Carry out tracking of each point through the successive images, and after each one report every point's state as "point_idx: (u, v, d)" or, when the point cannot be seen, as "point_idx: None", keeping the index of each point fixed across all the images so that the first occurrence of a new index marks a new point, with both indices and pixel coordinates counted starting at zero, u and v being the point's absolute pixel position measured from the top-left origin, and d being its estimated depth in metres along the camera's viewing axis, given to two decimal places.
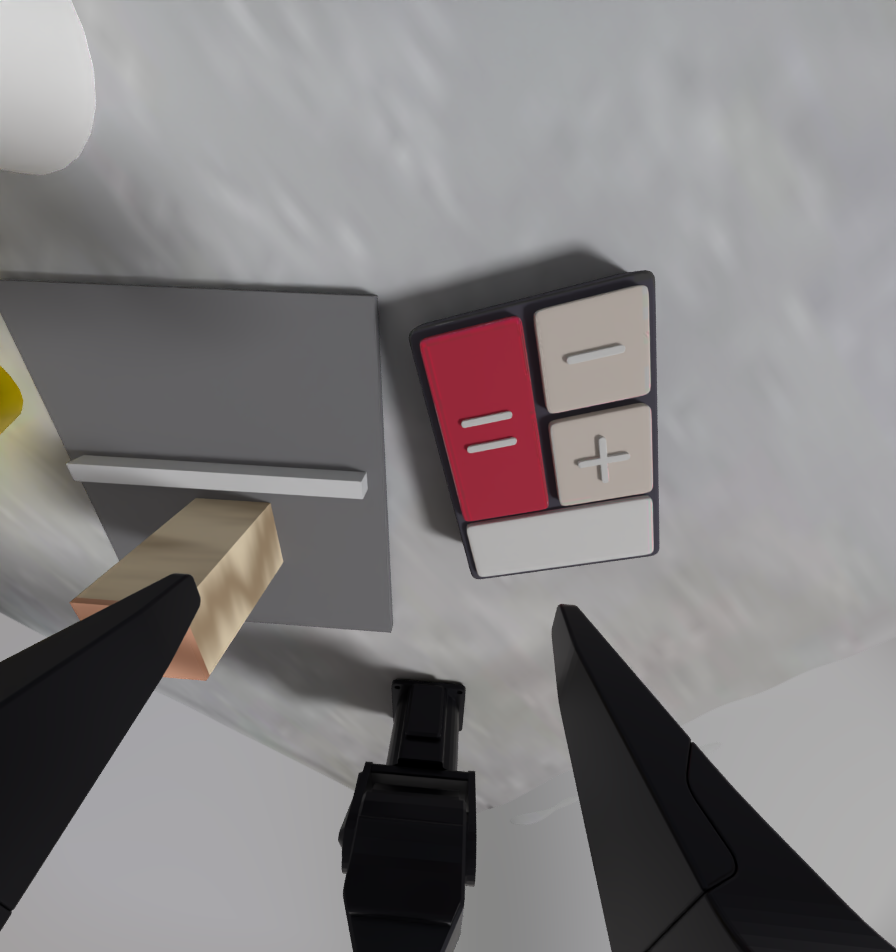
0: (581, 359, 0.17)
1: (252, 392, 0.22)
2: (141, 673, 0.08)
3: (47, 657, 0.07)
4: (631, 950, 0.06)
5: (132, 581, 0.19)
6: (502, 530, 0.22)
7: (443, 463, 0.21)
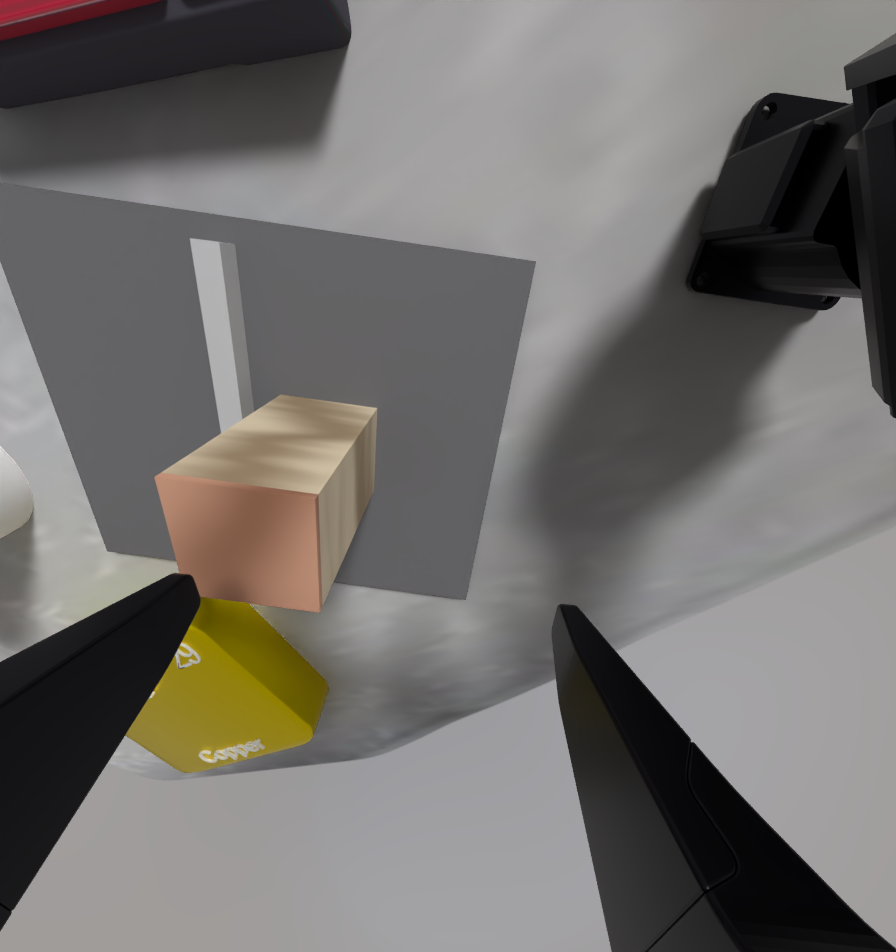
0: None
1: (136, 367, 0.20)
2: (141, 673, 0.08)
3: (47, 657, 0.07)
4: (631, 950, 0.06)
5: None
6: None
7: (80, 38, 0.12)
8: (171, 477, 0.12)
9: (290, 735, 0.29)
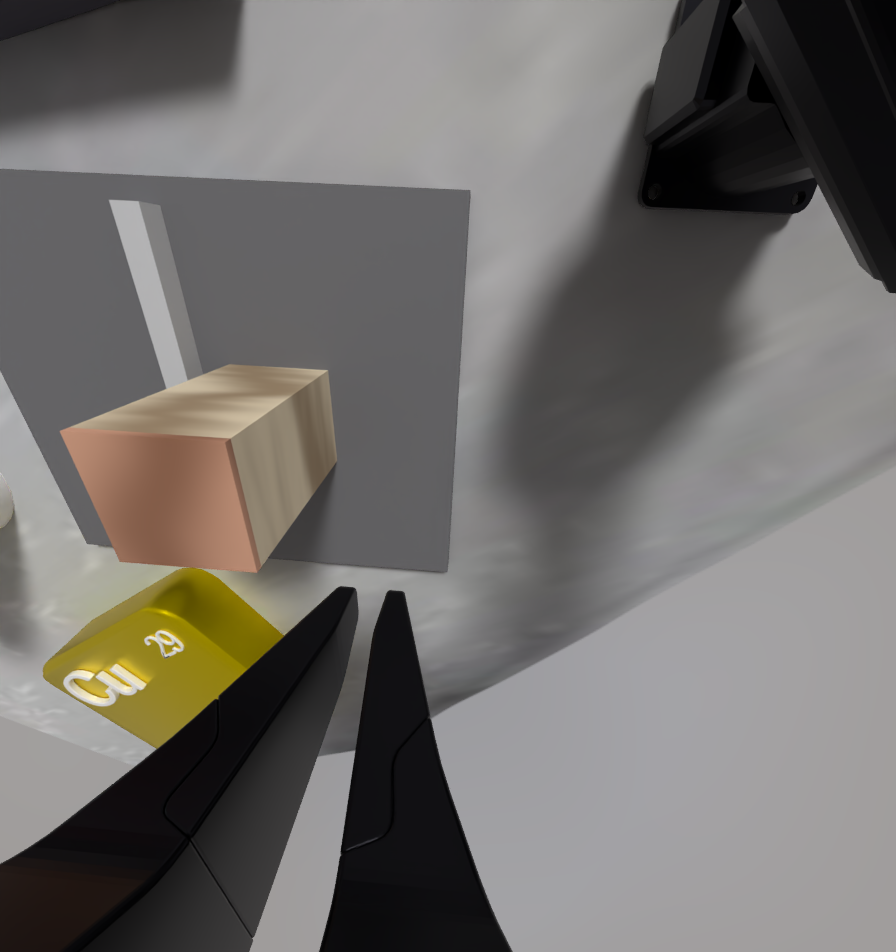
0: None
1: (84, 348, 0.19)
2: (330, 690, 0.08)
3: (277, 677, 0.07)
4: None
5: None
6: None
7: None
8: (78, 430, 0.12)
9: None
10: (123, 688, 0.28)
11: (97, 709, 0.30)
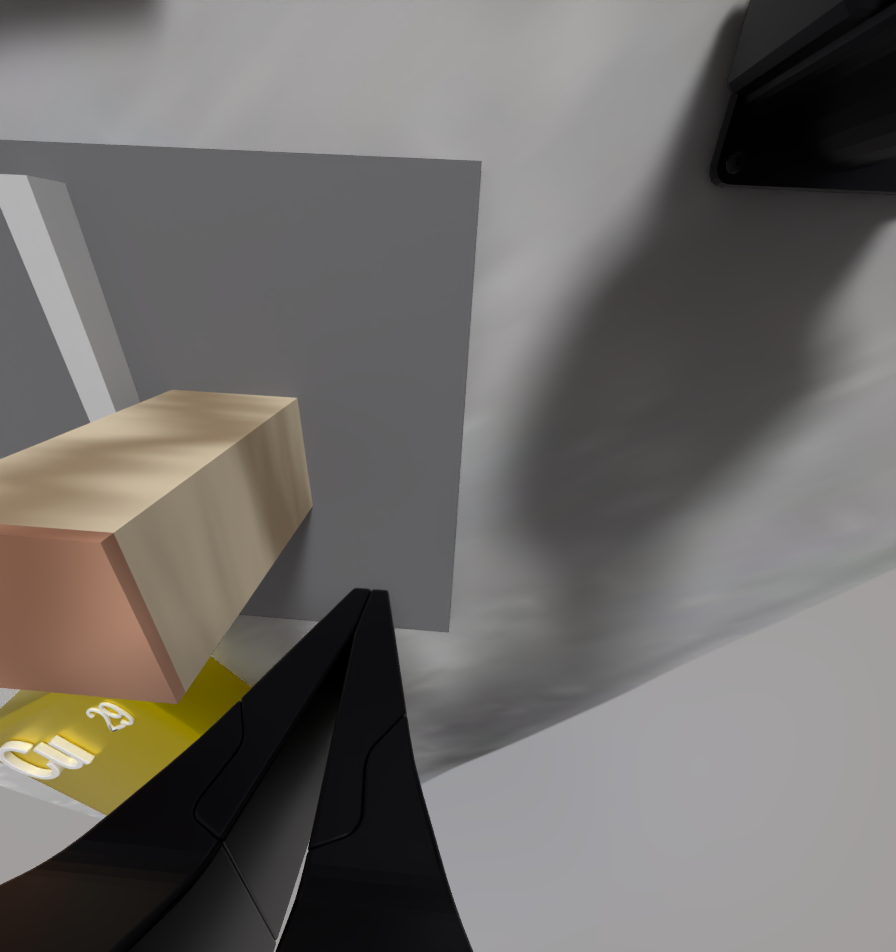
0: None
1: None
2: None
3: (298, 679, 0.07)
4: None
5: None
6: None
7: None
8: None
9: None
10: (67, 761, 0.23)
11: (41, 779, 0.25)
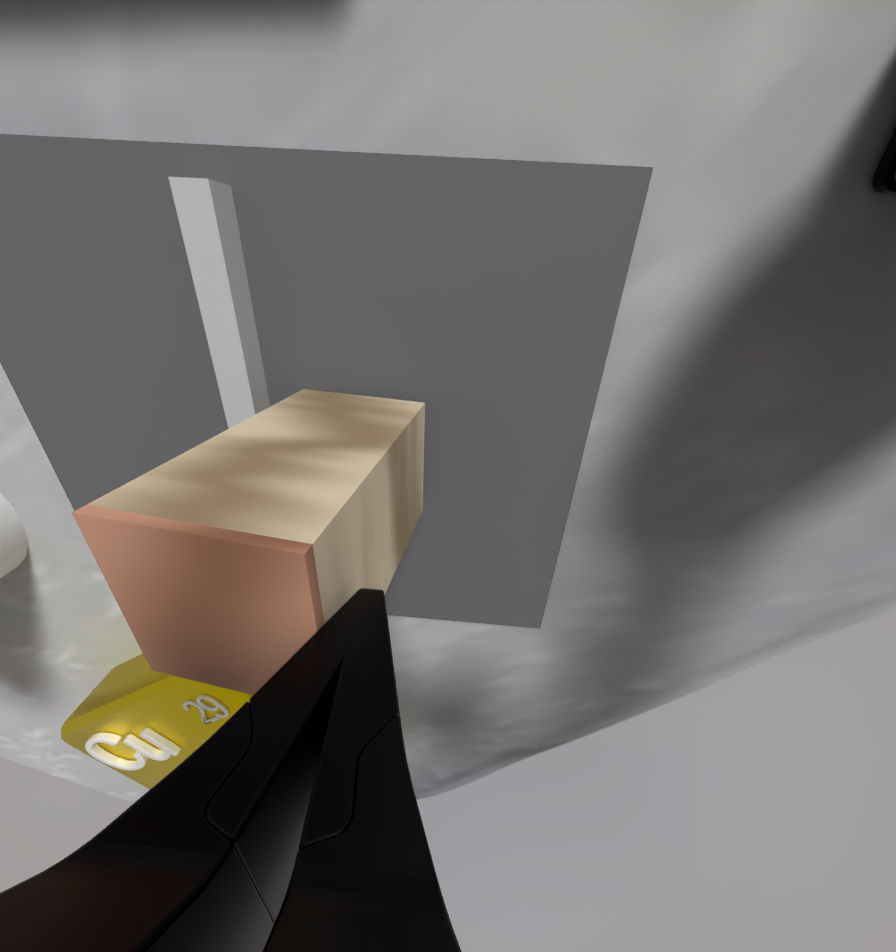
0: None
1: (122, 367, 0.16)
2: None
3: (306, 680, 0.07)
4: None
5: None
6: None
7: None
8: (97, 512, 0.08)
9: None
10: (154, 752, 0.24)
11: (122, 770, 0.26)
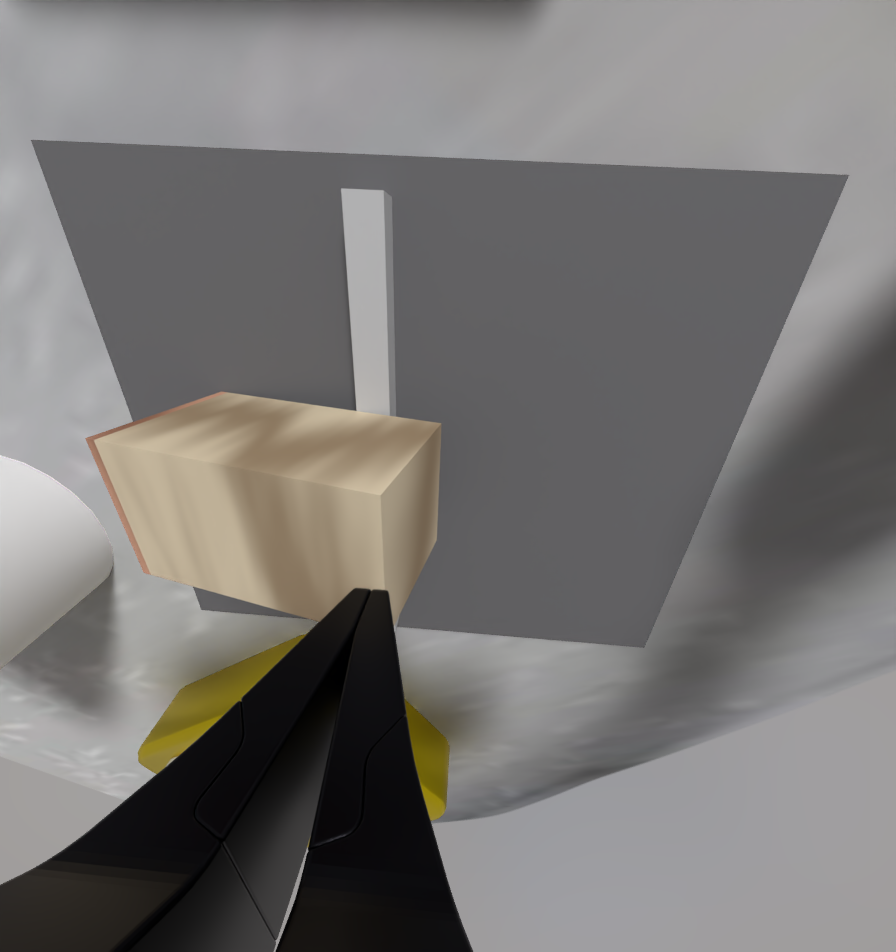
0: None
1: (245, 384, 0.15)
2: None
3: (298, 679, 0.07)
4: None
5: None
6: None
7: None
8: (214, 395, 0.15)
9: None
10: None
11: None
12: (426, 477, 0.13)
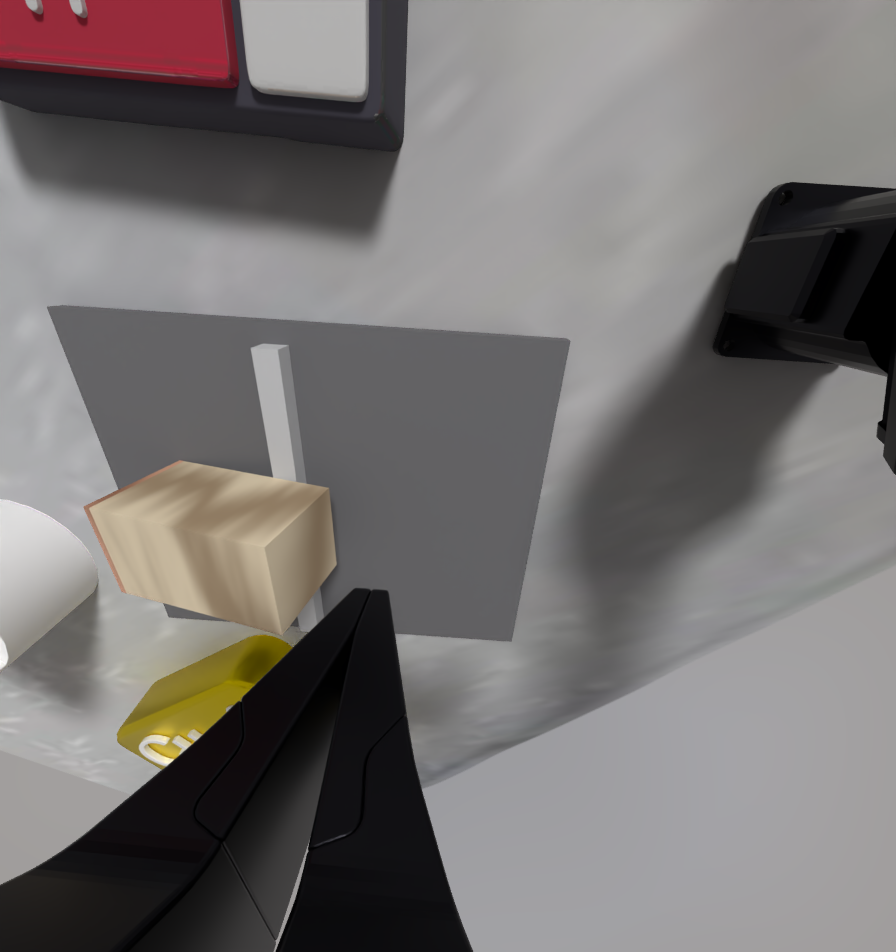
0: None
1: (197, 455, 0.21)
2: None
3: (298, 679, 0.07)
4: None
5: None
6: None
7: (138, 95, 0.13)
8: (174, 464, 0.21)
9: None
10: None
11: None
12: (315, 525, 0.19)
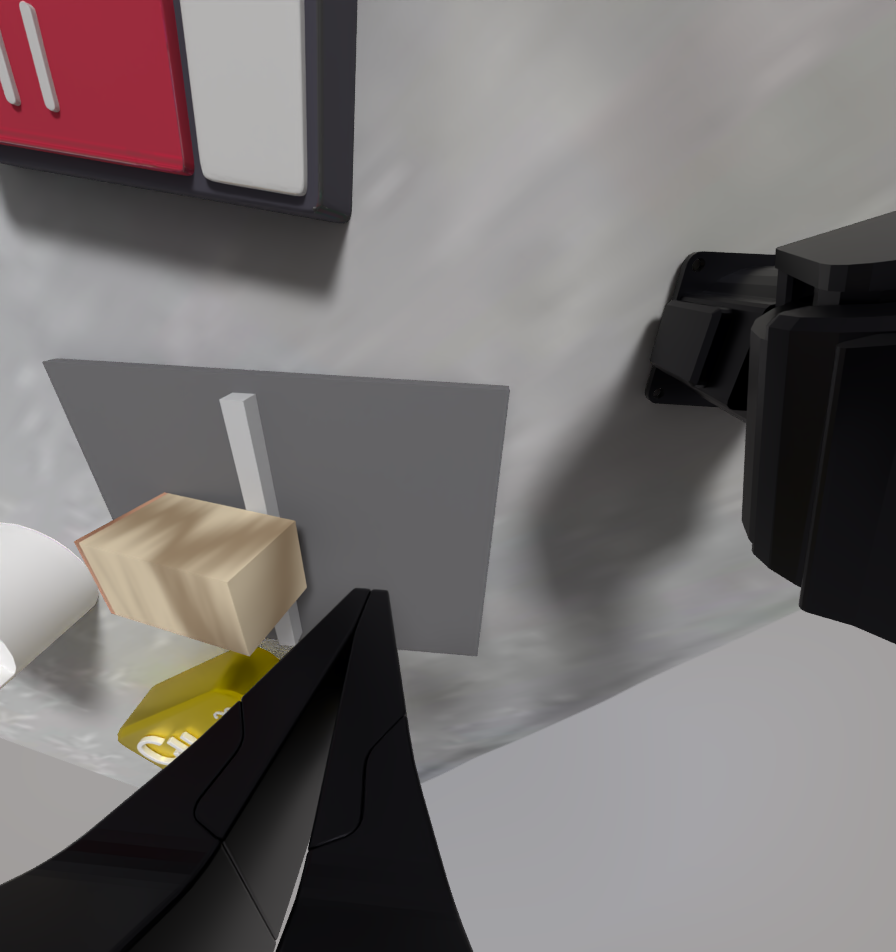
0: None
1: (179, 488, 0.23)
2: None
3: (298, 679, 0.07)
4: None
5: None
6: (210, 105, 0.13)
7: (105, 174, 0.14)
8: (158, 496, 0.23)
9: None
10: None
11: (162, 766, 0.33)
12: (281, 556, 0.21)
